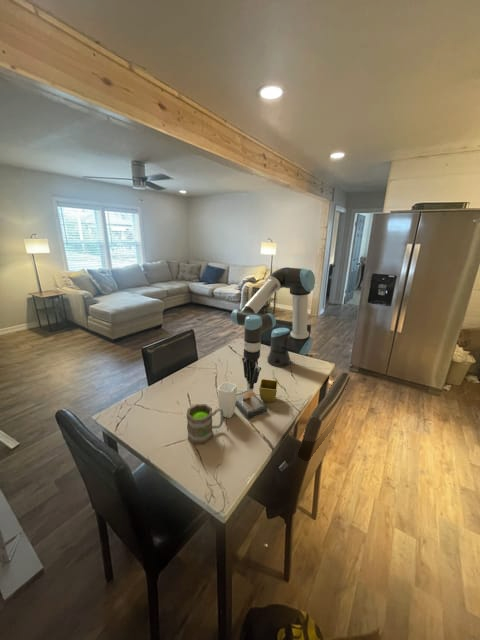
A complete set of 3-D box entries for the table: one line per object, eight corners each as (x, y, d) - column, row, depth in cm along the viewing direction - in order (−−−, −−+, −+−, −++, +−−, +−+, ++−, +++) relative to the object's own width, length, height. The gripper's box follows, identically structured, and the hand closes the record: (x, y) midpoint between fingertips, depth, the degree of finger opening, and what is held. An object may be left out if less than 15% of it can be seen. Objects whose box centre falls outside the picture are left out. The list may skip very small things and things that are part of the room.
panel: (249, 394, 139) (249, 389, 138) (267, 411, 126) (267, 406, 125) (231, 401, 133) (231, 395, 132) (247, 419, 120) (248, 413, 119)
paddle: (249, 395, 132) (254, 392, 127) (250, 397, 131) (255, 394, 126) (241, 397, 130) (247, 394, 124) (242, 400, 129) (248, 397, 124)
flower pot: (275, 405, 131) (276, 390, 128) (258, 403, 132) (259, 387, 130) (276, 395, 139) (277, 380, 136) (260, 393, 141) (261, 378, 138)
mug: (190, 448, 103) (189, 423, 100) (184, 430, 113) (183, 407, 109) (227, 437, 110) (227, 413, 106) (219, 421, 119) (219, 398, 115)
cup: (216, 416, 122) (216, 388, 117) (223, 407, 128) (223, 381, 124) (230, 421, 119) (231, 392, 115) (237, 411, 126) (237, 384, 121)
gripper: (237, 345, 122) (236, 388, 130) (252, 356, 111) (250, 402, 119) (251, 342, 126) (249, 384, 133) (267, 352, 115) (264, 398, 123)
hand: (249, 393), depth 126 cm, fingers closed
